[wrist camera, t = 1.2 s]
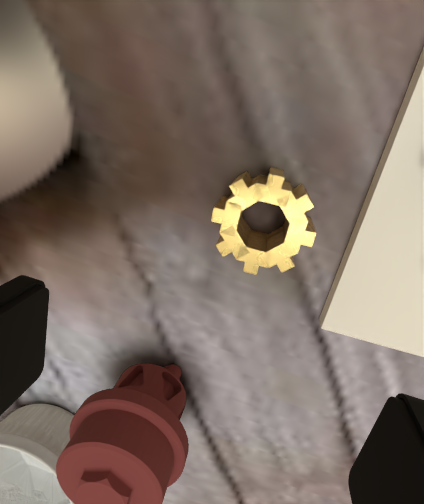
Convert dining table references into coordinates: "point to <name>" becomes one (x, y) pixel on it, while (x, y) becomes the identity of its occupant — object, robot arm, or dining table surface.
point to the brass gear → (257, 243)
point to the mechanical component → (127, 440)
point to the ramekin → (33, 454)
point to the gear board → (388, 243)
